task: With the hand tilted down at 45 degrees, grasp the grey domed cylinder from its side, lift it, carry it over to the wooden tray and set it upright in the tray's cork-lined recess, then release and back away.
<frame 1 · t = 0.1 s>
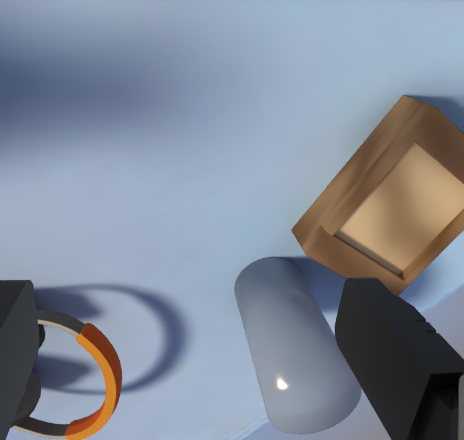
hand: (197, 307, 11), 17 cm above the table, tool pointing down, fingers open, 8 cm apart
grey domed cylinder: (268, 286, 33), on the table
wooden tray: (384, 196, 31), on the table
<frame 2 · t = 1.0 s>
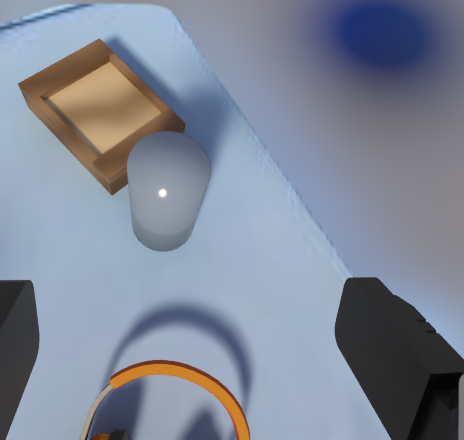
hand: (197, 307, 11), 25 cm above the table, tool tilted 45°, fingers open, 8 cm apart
grey domed cylinder: (163, 222, 38), on the table
wooden tray: (107, 125, 40), on the table
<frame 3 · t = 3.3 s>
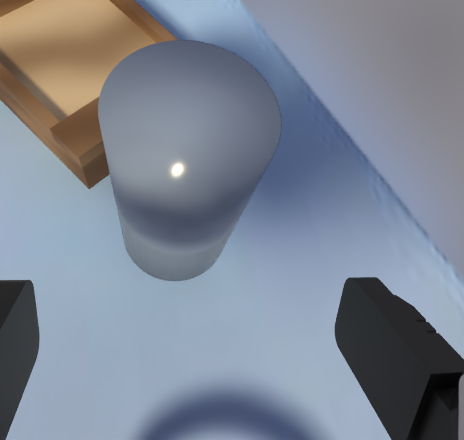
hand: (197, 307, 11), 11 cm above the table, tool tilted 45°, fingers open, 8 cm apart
grey domed cylinder: (175, 231, 23), on the table
wooden tray: (81, 79, 25), on the table
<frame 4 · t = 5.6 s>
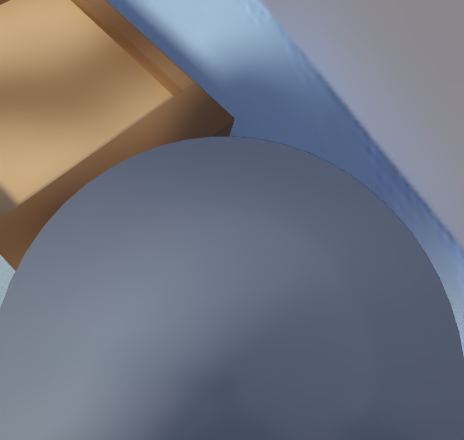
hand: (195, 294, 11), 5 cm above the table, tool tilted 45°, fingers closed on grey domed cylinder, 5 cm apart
grey domed cylinder: (184, 367, 15), on the table, touching gripper
wooden tray: (49, 130, 17), on the table
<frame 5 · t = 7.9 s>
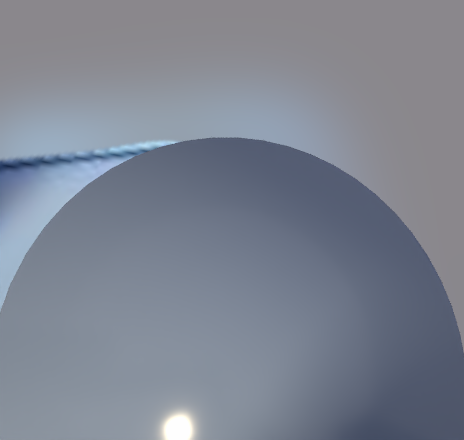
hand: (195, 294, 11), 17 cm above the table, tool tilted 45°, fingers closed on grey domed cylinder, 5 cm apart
grey domed cylinder: (185, 368, 15), point 12 cm above the table, touching gripper
when the fingers open (9 cm above the table, at t = 10.6 s): grey domed cylinder drops 1 cm, resting on wooden tray.
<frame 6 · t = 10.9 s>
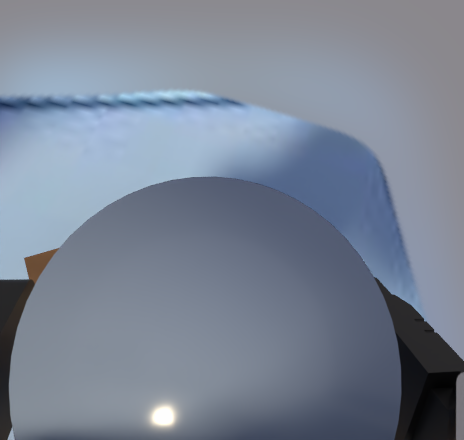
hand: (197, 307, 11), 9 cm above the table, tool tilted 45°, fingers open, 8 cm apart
grey domed cylinder: (181, 372, 16), point 3 cm above the table, touching wooden tray
wooden tray: (178, 370, 18), on the table
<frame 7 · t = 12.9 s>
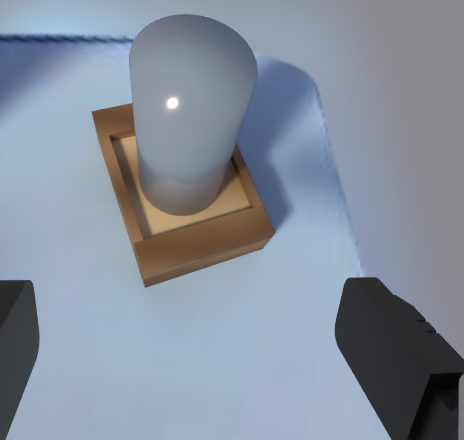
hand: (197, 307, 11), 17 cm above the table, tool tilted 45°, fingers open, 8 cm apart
grey domed cylinder: (180, 178, 28), point 3 cm above the table, touching wooden tray
wooden tray: (178, 193, 30), on the table
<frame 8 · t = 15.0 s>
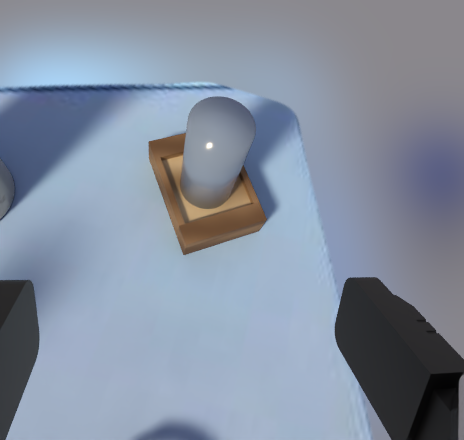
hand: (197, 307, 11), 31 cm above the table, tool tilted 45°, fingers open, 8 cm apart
grey domed cylinder: (206, 184, 43), point 3 cm above the table, touching wooden tray
wooden tray: (203, 194, 46), on the table
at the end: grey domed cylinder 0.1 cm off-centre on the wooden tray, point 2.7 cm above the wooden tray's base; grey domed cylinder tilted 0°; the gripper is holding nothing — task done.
